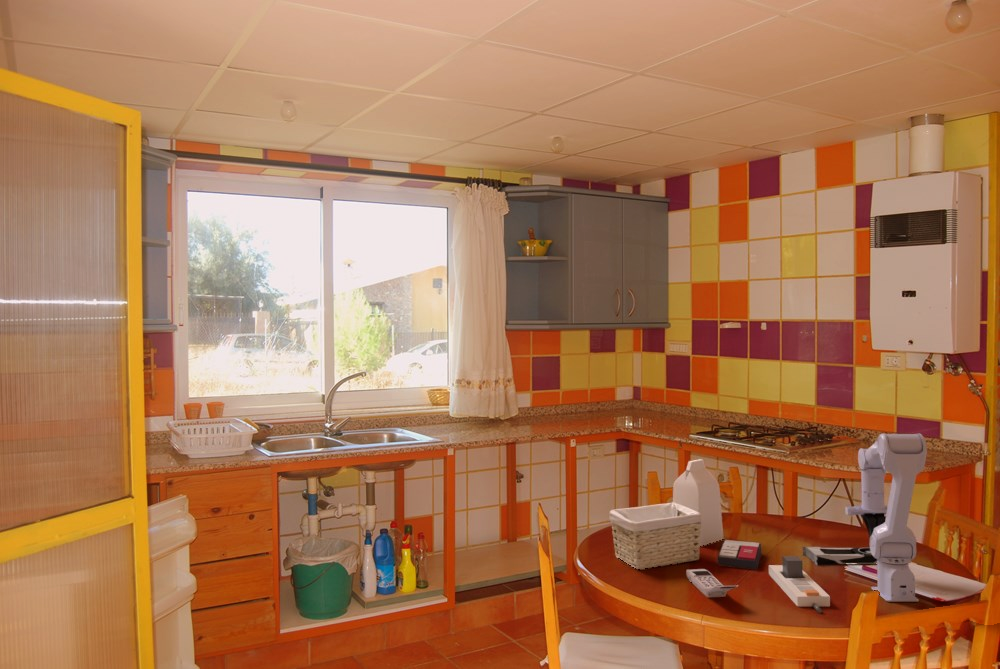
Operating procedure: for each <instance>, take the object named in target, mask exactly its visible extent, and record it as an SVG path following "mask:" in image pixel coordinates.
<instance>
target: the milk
mask: <svg viewBox="0 0 1000 669" xmlns="http://www.w3.org/2000/svg"><path fill="white" fill-rule="evenodd" d="M720 489H721V488H720V484H719V481H718V480H717V478H715V476H714V475H713V474H712V473H711V472H710V471H709V470H708V469H707V467H706V465H705V460H704V459H702V458H699V459H695V460H688V462H687V466H686V469H685V471H684V472H683V473H681V474H680V475H679V476H678V477H677V478H676V479H675V481H674V482H673V487H672V502H673V503H676V504H680V505H682V506H685V507H687V508H690V509H692V510H694V511H697V512H699V513H700V514H701V528H700V530H701V531H700V546H701V547H704V546H707V544H708V545H710V544H709V543H711V544H714V543H717V542H716V541H718V542H720V541H719V540H721V541H723V540H722V539H724V528H723V517H722V515H723V514H722V503H721V491H720ZM680 516H684V515H682V514H680ZM713 542H714V543H713ZM703 545H704V546H703Z"/></svg>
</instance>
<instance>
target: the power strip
mask: <svg viewBox="0 0 1000 669" xmlns="http://www.w3.org/2000/svg"><path fill="white" fill-rule="evenodd" d="M768 575H769V576H770V577H771V579H772V580H773V581H774V582H775V584H777V585H778V586H779V587H780V589H781V590H782V591H783V592H784V593H785V594H786V595H787V596H788V597H789V598H790V600H791V601H792V602H793V603H794V604H795V606H796V607H812V608H814V609H815V611H817V612H818V614H822V613H823V609H822V608H821V607H830V606H831V597H830V595H829V594H828V593H827V592H826V591H825V590H824V589H823V588H822V587H821V586H820V585H819V584H818V583H817V582H815V581H814V579H813V578H812V577H811V576H809V575H808V573H807V572H806V571H804V570H803V578H785V577H784V576H783V564H780V565H779V564H774V565H773V564H772V565H771V564H769V565H768Z"/></svg>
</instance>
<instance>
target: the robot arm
mask: <svg viewBox="0 0 1000 669" xmlns="http://www.w3.org/2000/svg"><path fill="white" fill-rule="evenodd" d="M927 454H928V448H927V441H926V439H925V437H924V436H923V434H922V433H920V432H918V433H912V434H911V433H884V432H883V433H880V434H879V436H878V437H877V440H875V441H874V443H872V445H870V447H868V448H861V447H860V448H859V450H858V453H857V462H858V466H859V469H860V470H861V472H860V474H861V475H860V476H861V478H860V479H861V482H860V483H861V505H853V506H845V508H844V509H845V510H844V511H845V515H846V516H854V515H855V516H857V515H860V517H861V519H862V521H863V522H864V525H865V527H866V530H867V533H868V538H869V548H870V551H871V554H872V555H873V556H874V558H876V559H877V564H876V566H877V567H876V568H877V574H876V575H877V586H872V587H871V590H873V591H874V590H878V591H879V592H880V595H879V596H880V597H881V599H883V600H885V601H886V602H888V603H889V602H891V603H892V602H894V603H895V602H903V603H904V602H909V603H910V602H919V598H918V597H916V577H915V575H914V573H913V571H912V570H911V569H910V566H909V564H912V560H914V558H916V555H917V539H916V536H915V534H914V531H913V530H912V529H911V528H910V527H909V526H907V524H908V521H909V515H910V511H911V510H910V509H911V505H912V500H913V494H914V489H915V484H916V479H917V475H918V474H920V473H922V472H923V471H924V467H925V466H926V460H927ZM887 473H889V474H891V475H892V480H891V486H890V491H889V492H890V493H889V497H888V502H887V503H888V504H887V505H885V477H886V476H887Z"/></svg>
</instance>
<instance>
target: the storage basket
mask: <svg viewBox="0 0 1000 669" xmlns="http://www.w3.org/2000/svg"><path fill="white" fill-rule="evenodd" d="M680 514H682V515H684V516H680ZM609 522H610V525H611V529H612V537H613V545H614V552H615V553H614V556H615V557H616V559H618V558H620V559H621V560H623V561H624V562H626V563H627V564H626V563H625V564H626V565H628V564H629V565H631V566H630V567H631V568H632V567H634V568H633V569H635V568H636V569H635V570H638V569H640V570H646V569H645V568H648V569H653V568H652V567H654V568H657V567H658V566H661V567H665V566H670V564H672V565H677V563H678V564H682V563H684V562H685V563H687V562H693V561H694V562H695V561H699V560H700V552H701V550H700V531H701V530H700V528H701V514H700V513H699V512H697V511H694V510H692V509H690V508H687V507H685V506H682V505H680V504H676V503H673V501H672V502H669V503H668V502H667V503H659V504H651V505H643V506H635V507H627V508H625V507H624V508H616V509H611V510H610V511H609ZM620 559H619V560H620ZM621 560H620V561H621ZM623 561H622V562H623ZM624 562H623V563H624ZM629 565H628V566H629Z"/></svg>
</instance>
